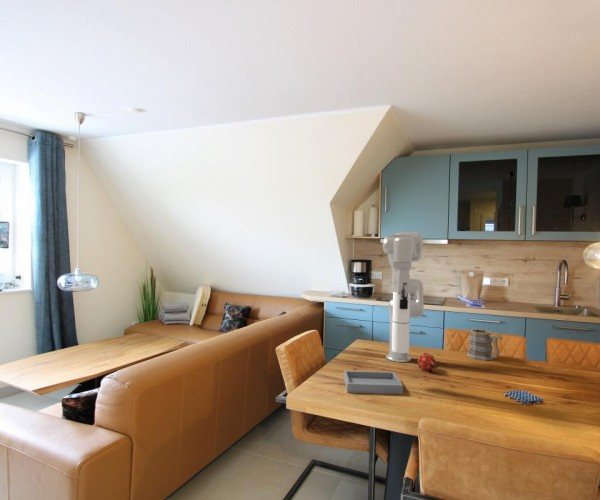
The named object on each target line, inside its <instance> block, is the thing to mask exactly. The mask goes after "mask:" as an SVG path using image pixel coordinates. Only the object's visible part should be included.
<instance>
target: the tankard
mask: <svg viewBox="0 0 600 500" xmlns="http://www.w3.org/2000/svg"><path fill="white" fill-rule="evenodd" d="M492 334H493V333H492V331H491V330H487V329H482V328H479V329H478V328H474V329H470V333H469V335H468V340H469V343H468V349H469V350H467V356H466V357H468V358H471V359H473V360H479V361H484V360H486V361H493V360H494V359H497V358H498V357H499V354H500V348H499V344H498V340H499V341H502V340H503V339H504V337H503V336H502V335H501V334H500V333H498V334H493V335H492ZM493 349H494V350H493ZM493 351H494V352H493ZM492 352H493V353H492Z"/></svg>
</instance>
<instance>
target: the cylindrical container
mask: <svg viewBox="0 0 600 500" xmlns="http://www.w3.org/2000/svg"><path fill="white" fill-rule="evenodd" d="M392 294H393V295H392V299H393V322H392V351H394V352H397V353H408V354H409V352H410V330H411V329H410V328H411V325H410V324H411V323H410V322H411V320H410V318H411V317H410V299H411V297H410V293H408V309H400V299H401V296H400V292H399V293H396V292H393V293H392ZM402 296H403V294H402Z"/></svg>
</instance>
